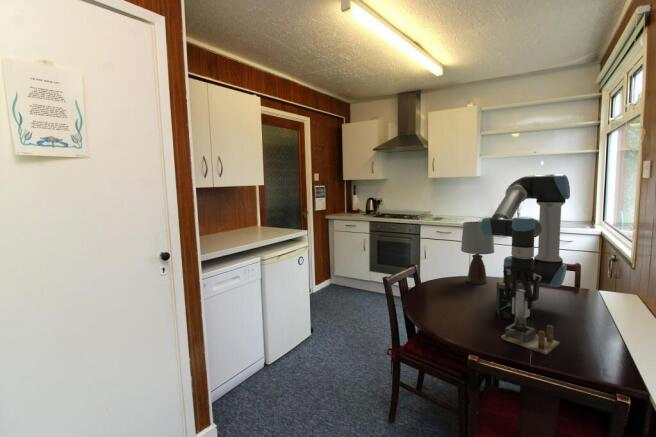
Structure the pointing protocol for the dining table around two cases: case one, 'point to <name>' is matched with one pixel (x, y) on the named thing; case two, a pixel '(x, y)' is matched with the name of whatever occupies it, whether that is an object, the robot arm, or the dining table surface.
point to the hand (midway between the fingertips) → (520, 314)
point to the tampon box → (505, 302)
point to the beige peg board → (531, 338)
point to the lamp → (476, 250)
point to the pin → (520, 307)
